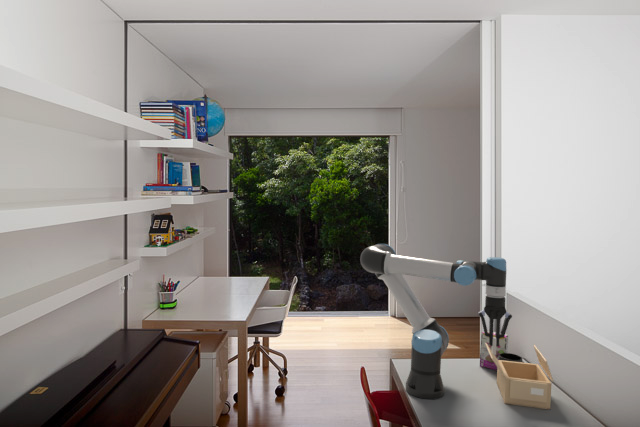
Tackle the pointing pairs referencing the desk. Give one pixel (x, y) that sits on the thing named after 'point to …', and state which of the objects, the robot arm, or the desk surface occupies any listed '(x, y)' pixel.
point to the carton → (524, 384)
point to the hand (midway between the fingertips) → (493, 353)
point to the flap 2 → (543, 363)
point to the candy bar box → (485, 356)
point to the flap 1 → (495, 359)
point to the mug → (510, 357)
